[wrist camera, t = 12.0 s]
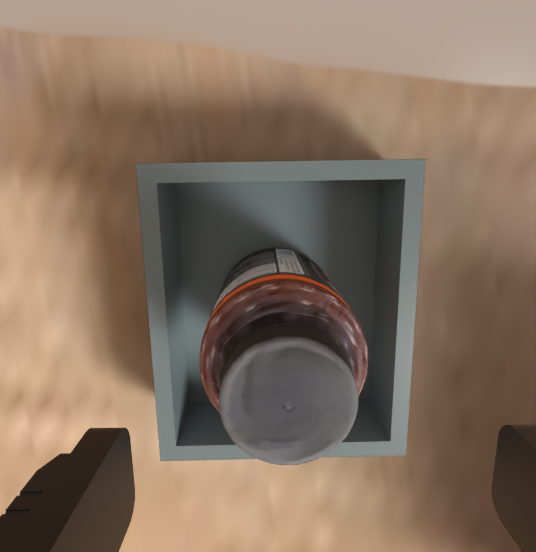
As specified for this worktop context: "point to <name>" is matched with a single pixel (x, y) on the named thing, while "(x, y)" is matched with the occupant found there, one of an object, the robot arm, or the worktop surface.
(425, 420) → the worktop surface
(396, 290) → the bin
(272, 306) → the supplement bottle
